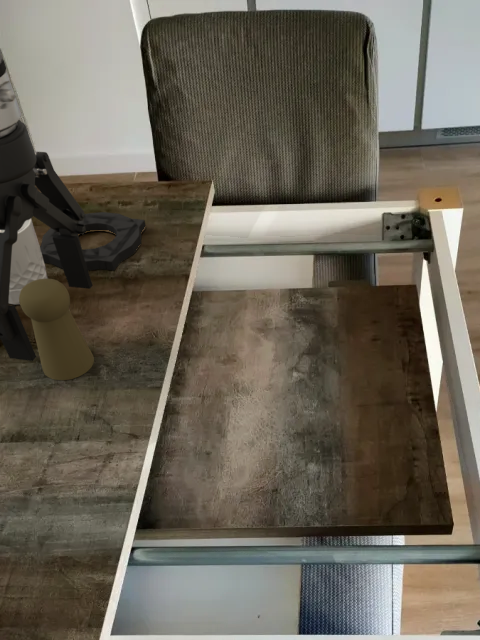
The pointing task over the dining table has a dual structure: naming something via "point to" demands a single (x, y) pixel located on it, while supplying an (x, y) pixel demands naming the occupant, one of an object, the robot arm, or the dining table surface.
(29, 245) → the white cup
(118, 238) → the base pad
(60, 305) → the olive pawn
